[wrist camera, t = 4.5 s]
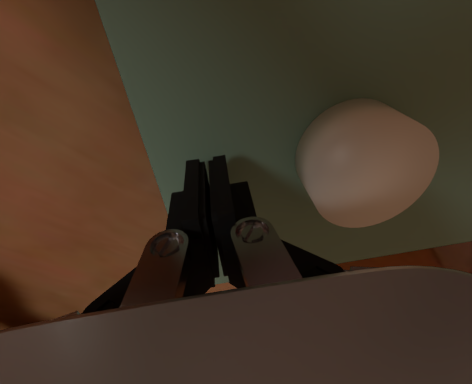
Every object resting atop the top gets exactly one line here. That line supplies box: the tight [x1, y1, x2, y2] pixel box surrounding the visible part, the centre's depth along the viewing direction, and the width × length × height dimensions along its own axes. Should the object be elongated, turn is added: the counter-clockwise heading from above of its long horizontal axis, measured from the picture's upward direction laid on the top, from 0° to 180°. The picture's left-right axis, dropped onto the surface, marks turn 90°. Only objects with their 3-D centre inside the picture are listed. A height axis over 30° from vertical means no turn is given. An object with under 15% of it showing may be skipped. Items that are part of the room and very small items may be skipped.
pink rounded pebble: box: [295, 98, 439, 228], centre depth 12 cm, size 5×5×2 cm
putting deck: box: [95, 0, 472, 284], centre depth 14 cm, size 16×28×2 cm, turn 97°
